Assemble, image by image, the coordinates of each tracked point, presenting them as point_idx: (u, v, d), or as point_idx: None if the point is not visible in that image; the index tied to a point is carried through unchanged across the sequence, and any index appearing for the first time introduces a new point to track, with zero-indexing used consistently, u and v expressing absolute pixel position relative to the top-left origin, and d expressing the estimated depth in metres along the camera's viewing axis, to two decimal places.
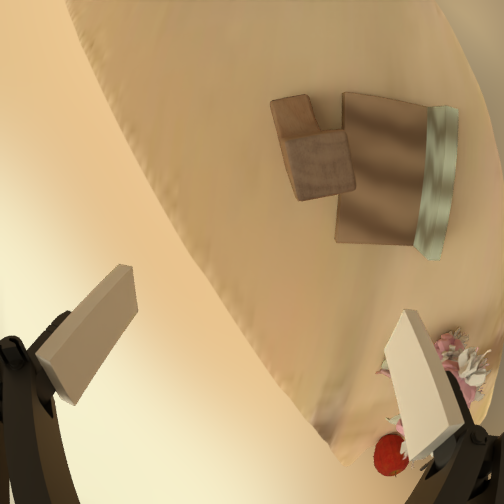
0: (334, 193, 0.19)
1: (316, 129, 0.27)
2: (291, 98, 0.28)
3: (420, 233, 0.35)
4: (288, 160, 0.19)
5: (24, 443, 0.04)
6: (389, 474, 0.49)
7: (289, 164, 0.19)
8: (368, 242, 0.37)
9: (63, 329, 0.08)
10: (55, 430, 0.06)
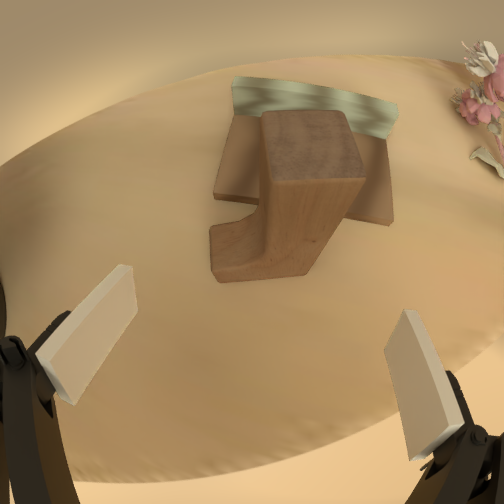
0: (351, 133, 0.12)
1: (257, 211, 0.23)
2: (212, 245, 0.25)
3: (371, 128, 0.31)
4: (304, 181, 0.12)
5: (24, 443, 0.04)
6: None
7: (310, 180, 0.12)
8: (389, 185, 0.30)
9: (63, 329, 0.08)
10: (56, 430, 0.06)
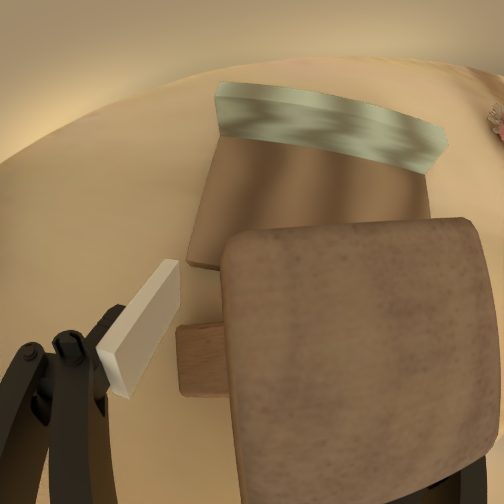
0: (493, 309, 0.03)
1: None
2: (179, 357, 0.16)
3: (409, 160, 0.22)
4: None
5: (72, 444, 0.05)
6: None
7: None
8: None
9: (122, 321, 0.09)
10: (106, 430, 0.07)
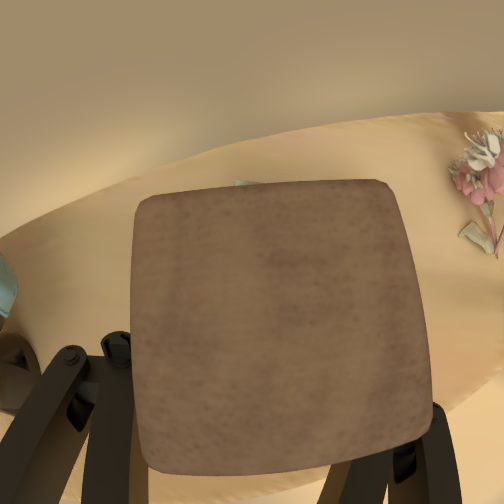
0: (413, 271, 0.04)
1: None
2: None
3: None
4: (239, 474, 0.03)
5: (113, 449, 0.05)
6: None
7: (260, 473, 0.03)
8: None
9: None
10: None
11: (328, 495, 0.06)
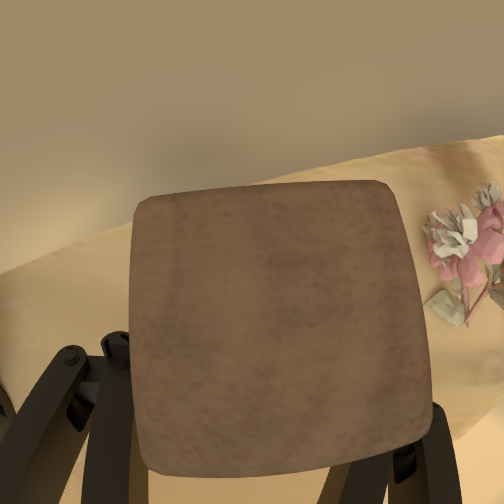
0: (413, 272, 0.04)
1: None
2: None
3: None
4: (238, 476, 0.03)
5: (114, 449, 0.05)
6: None
7: (259, 475, 0.03)
8: None
9: None
10: None
11: (328, 495, 0.06)
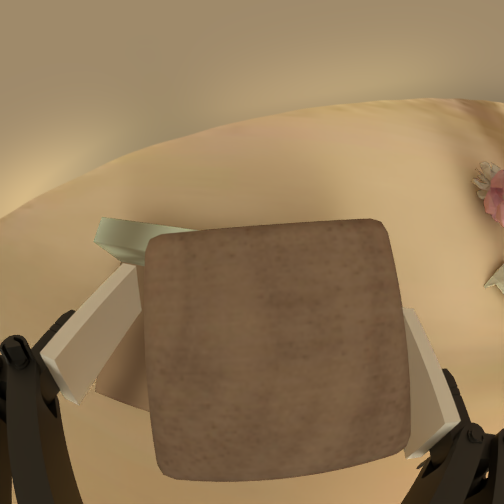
0: (399, 308, 0.04)
1: None
2: None
3: None
4: (241, 480, 0.04)
5: (27, 443, 0.04)
6: None
7: (258, 479, 0.03)
8: None
9: (67, 328, 0.08)
10: (59, 430, 0.06)
11: None
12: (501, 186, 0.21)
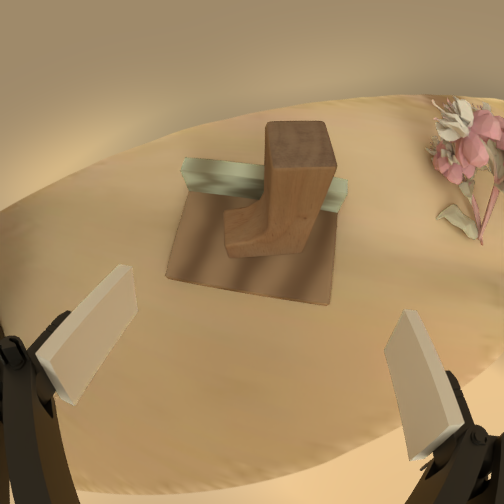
0: (328, 137, 0.18)
1: (262, 197, 0.29)
2: (225, 225, 0.31)
3: None
4: (294, 168, 0.18)
5: (24, 443, 0.04)
6: None
7: (298, 168, 0.18)
8: (331, 266, 0.34)
9: (63, 329, 0.08)
10: (55, 430, 0.06)
11: None
12: None
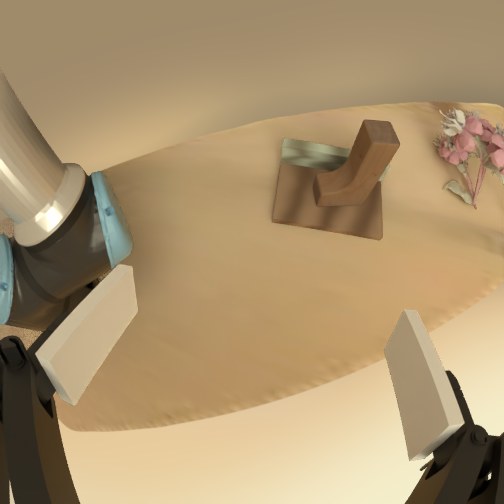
0: (393, 130, 0.33)
1: (345, 164, 0.43)
2: (319, 182, 0.46)
3: None
4: (382, 143, 0.32)
5: (24, 443, 0.04)
6: None
7: (383, 143, 0.32)
8: (381, 214, 0.49)
9: (63, 329, 0.08)
10: (55, 430, 0.06)
11: None
12: (445, 142, 0.50)
